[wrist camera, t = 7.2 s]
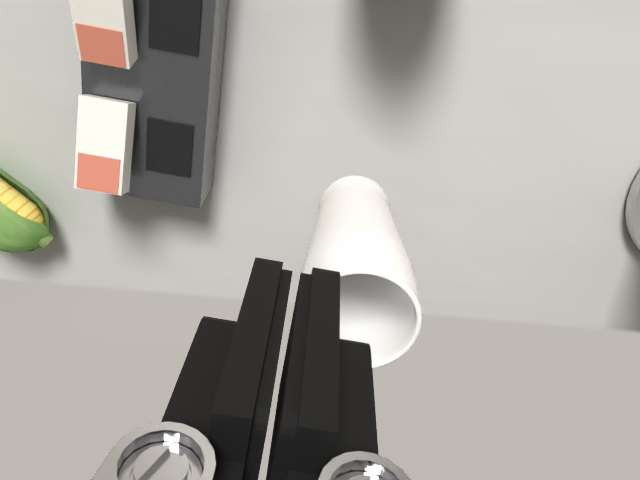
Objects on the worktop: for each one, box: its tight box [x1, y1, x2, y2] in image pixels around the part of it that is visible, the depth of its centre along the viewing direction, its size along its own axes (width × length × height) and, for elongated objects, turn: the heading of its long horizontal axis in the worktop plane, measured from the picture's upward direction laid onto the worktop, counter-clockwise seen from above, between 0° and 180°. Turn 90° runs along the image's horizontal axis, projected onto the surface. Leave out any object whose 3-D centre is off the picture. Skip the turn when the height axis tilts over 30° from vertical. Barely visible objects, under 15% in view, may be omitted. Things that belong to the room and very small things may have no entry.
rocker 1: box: [69, 0, 138, 69], centre depth 30 cm, size 3×6×2 cm, turn 170°
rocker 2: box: [74, 94, 136, 196], centre depth 34 cm, size 3×6×2 cm, turn 170°
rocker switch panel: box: [81, 0, 228, 208], centre depth 33 cm, size 8×24×4 cm, turn 170°
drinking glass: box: [302, 176, 422, 368], centre depth 35 cm, size 7×7×15 cm
